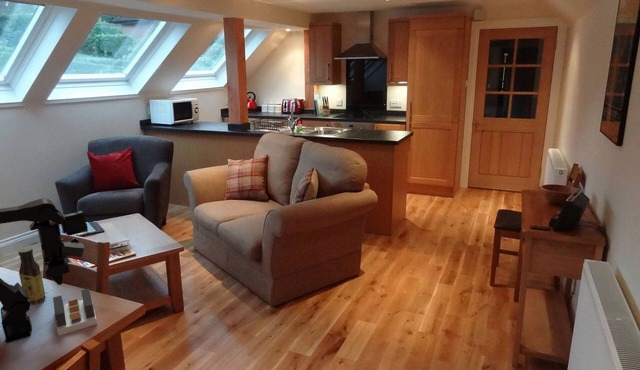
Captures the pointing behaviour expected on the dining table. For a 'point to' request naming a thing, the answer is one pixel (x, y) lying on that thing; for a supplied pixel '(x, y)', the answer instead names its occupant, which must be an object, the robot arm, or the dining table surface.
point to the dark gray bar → (88, 303)
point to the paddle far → (73, 302)
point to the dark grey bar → (59, 311)
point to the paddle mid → (74, 308)
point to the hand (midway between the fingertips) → (60, 284)
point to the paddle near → (75, 315)
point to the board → (76, 320)
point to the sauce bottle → (31, 276)
